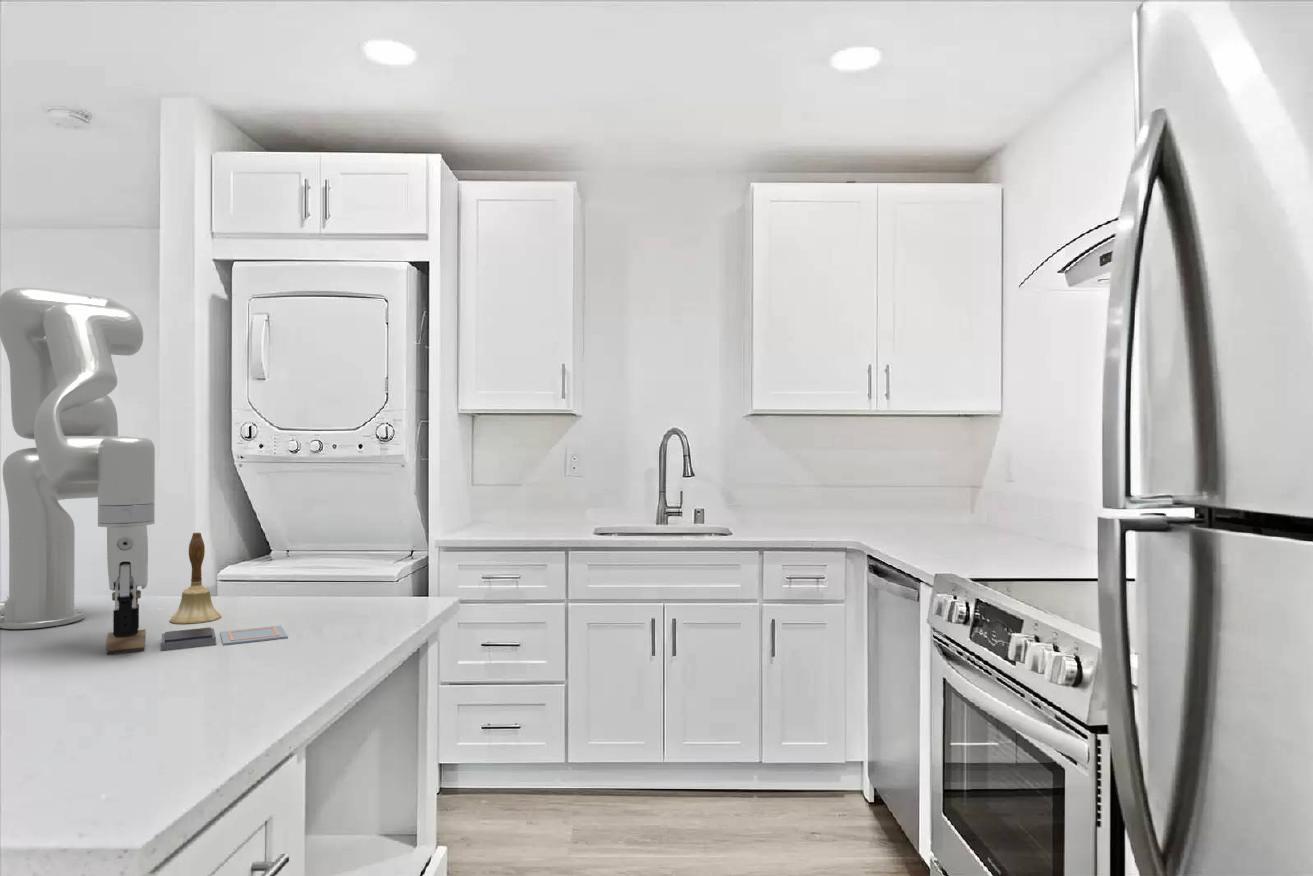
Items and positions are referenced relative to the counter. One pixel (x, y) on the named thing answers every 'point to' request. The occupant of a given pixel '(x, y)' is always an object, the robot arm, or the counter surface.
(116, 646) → the stamp
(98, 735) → the counter surface
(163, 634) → the ink pad
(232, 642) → the card
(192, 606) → the hand bell
